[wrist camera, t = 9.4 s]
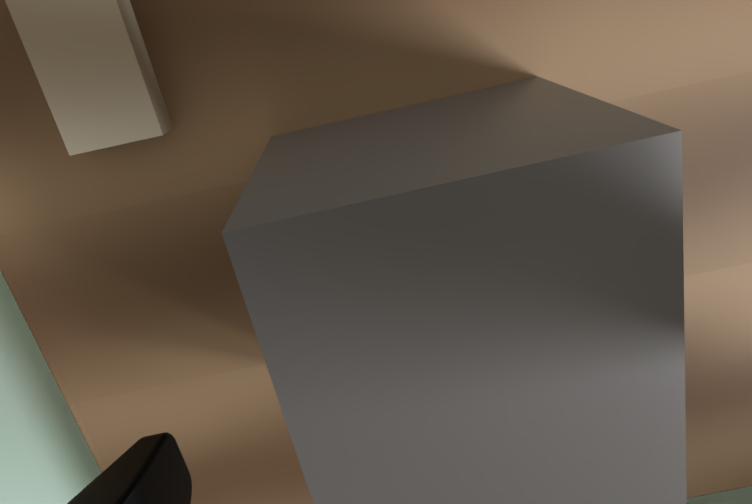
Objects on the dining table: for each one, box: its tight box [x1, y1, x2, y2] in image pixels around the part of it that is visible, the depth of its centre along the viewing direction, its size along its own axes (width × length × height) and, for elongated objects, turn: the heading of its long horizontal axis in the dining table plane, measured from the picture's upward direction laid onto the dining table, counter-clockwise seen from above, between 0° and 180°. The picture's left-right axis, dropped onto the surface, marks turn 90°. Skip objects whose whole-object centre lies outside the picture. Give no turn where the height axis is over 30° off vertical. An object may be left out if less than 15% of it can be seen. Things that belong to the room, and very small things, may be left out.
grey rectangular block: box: [222, 76, 687, 504], centre depth 13 cm, size 6×6×8 cm
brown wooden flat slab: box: [0, 0, 752, 504], centre depth 15 cm, size 20×20×4 cm
